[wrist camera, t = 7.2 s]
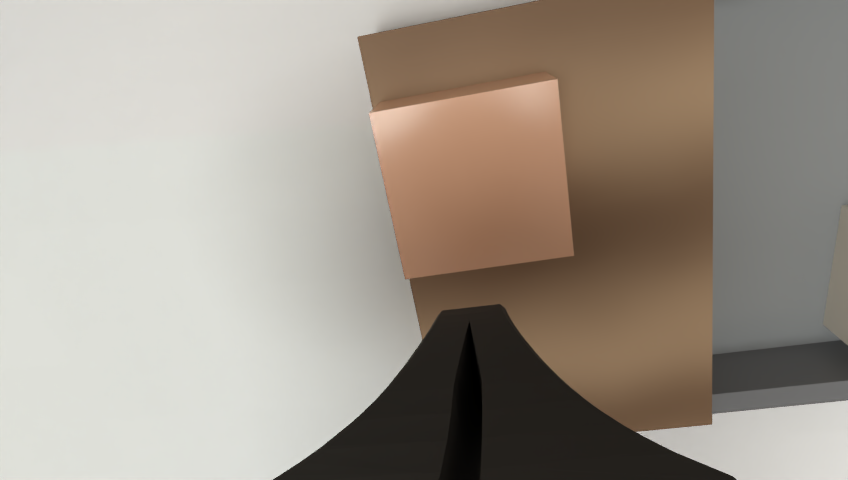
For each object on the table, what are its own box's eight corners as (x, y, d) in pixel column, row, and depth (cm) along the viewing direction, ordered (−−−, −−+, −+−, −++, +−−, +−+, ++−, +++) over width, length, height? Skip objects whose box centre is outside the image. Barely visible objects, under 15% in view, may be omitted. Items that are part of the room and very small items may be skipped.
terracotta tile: (561, 228, 16) (573, 255, 14) (411, 250, 17) (405, 279, 15) (545, 71, 15) (557, 78, 13) (380, 101, 15) (368, 112, 13)
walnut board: (679, 371, 21) (712, 424, 18) (448, 396, 22) (446, 450, 19) (670, -26, 16) (714, -35, 13) (374, 34, 17) (357, 36, 14)
